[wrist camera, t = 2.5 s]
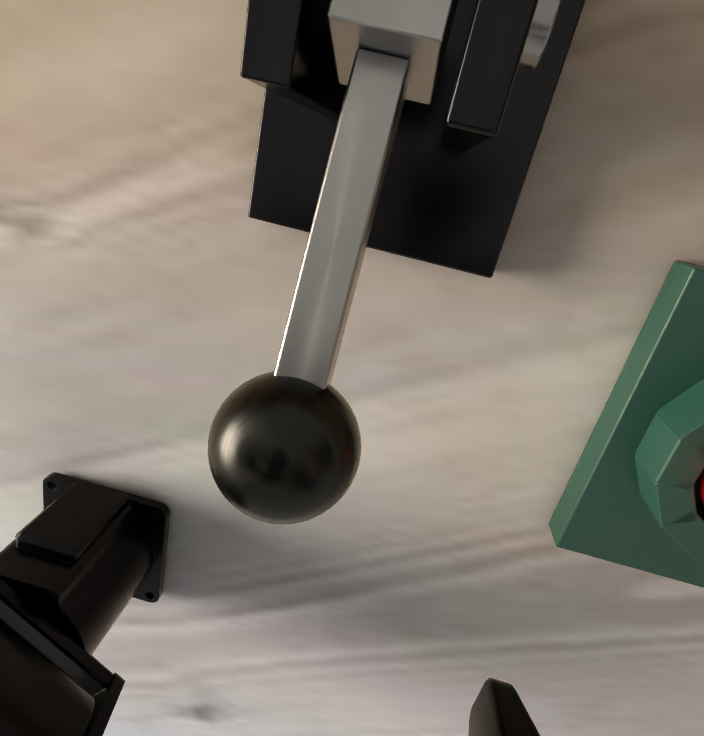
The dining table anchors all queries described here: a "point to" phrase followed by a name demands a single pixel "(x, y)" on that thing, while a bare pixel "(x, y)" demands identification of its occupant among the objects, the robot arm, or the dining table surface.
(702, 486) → the button
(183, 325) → the dining table surface
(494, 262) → the switch bracket
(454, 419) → the dining table surface
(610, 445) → the button block
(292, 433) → the switch lever
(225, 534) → the dining table surface
